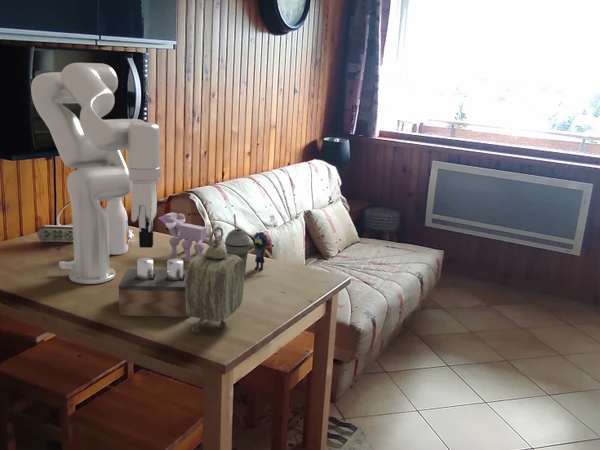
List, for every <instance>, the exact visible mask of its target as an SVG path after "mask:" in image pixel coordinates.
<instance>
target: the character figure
mask: <svg viewBox="0 0 600 450" xmlns="http://www.w3.org/2000/svg"><path fill="white" fill-rule="evenodd" d="M252 243H253V245H254V246H255V247H253V248H251V249H248V254H247V255H249V254H251V253H253V252H255V251H256V252H255V256H256V257H255V261H254V262H255V263H256V266H255V267H254V270H255V271H257V270H258V271H259V272H261V271H263V270H264V263H265V254H266V255H267V256H268V257H269V259H271V260H273V259H274V257H273V256H272V255H271V253H270V252H269V251H268V249H266V246H267V245H268V244H269V241H268V238H267V235H266V234H264V232H258V233H257V234H255V236H253V240H252ZM264 253H265V254H264Z"/></svg>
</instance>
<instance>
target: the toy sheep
mask: <svg viewBox="0 0 600 450" xmlns="http://www.w3.org/2000/svg"><path fill="white" fill-rule="evenodd" d="M158 220H160V221H161V222H162V223H163V224H164V225H165V226H166V228H168V232H169V235H170V239H169V244H170V246H171V250H172V251H171V253H172V259H178V252H177V251H178V250H177V247H178V246H179V244H180V241H182V240H183V241H182V242H181V247H182V249H183V253H185V259H186V260H185V261H186V263H191V261H192V260H191V251H190V249H191V248H192V243H193V241H194V242H195V244H194V246H193V248H194V255H195V256H198V255H200V254H202V253H203V251H204V249H205V245H204V244H203V242H205V243H206V245H207V246H208V248H209V247H211V245H210V242H209V240H210V236H208V237H207V227H206V226H201V225H197V224H196V225H195V224H191V223H187V222H186V216H185V214H183V213H177V212H169V213H166V214H164V215H162V216H159V217H158ZM185 222H186V223H185ZM215 239H216V238H215V237H212V240H211V242H212V244H214V240H215Z"/></svg>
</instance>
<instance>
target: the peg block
mask: <svg viewBox="0 0 600 450" xmlns="http://www.w3.org/2000/svg"><path fill="white" fill-rule="evenodd" d="M186 275H187V269H183V281H167V268H166V269H156V268H153V281H148V280H137V268H129V267H128V268H127V269H126V271H125V272H124V274H123V275H122V278H121V280H120V282H119V283H118V314H119V315H118V316H122V317H123V316H125V317H127V316H130V317H133V316H135V317H136V316H137V317H172V318H174V317H175V318H176V317H177V318H178V317H180V318H182V317H183V318H186V317H187V318H189V317H190V316H187V313H186V300H185V289H186Z"/></svg>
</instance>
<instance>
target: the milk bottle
mask: <svg viewBox="0 0 600 450" xmlns="http://www.w3.org/2000/svg"><path fill="white" fill-rule="evenodd" d="M122 199H123V197H122V198H117V199H110V200H107V202H106V203H107V204H106V206H105V208H104V210H105V211H106V213H107V215H108V224H109V255H110V256H112V255H114V256H116V255H117V256H118V255H123V254H126V253H128V251H129V224H128V223H129V222H128V221H129V220H128V219H129V218H128V214H127V210H126V208H125V207H124V205H123V202H122V201H123V200H122Z"/></svg>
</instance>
